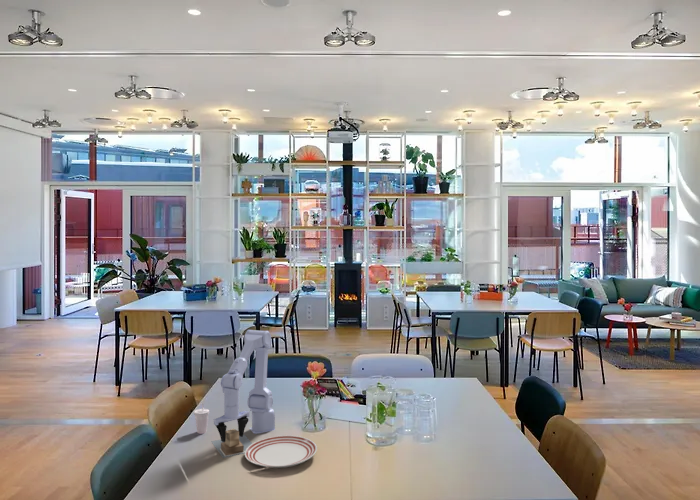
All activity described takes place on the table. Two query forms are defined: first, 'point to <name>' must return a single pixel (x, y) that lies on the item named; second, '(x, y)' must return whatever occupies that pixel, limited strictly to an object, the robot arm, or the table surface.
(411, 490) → the table surface
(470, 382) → the table surface
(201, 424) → the smoothie
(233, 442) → the oak block
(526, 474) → the table surface
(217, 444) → the build board
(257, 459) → the dinner plate
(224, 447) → the walnut slab
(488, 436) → the table surface
